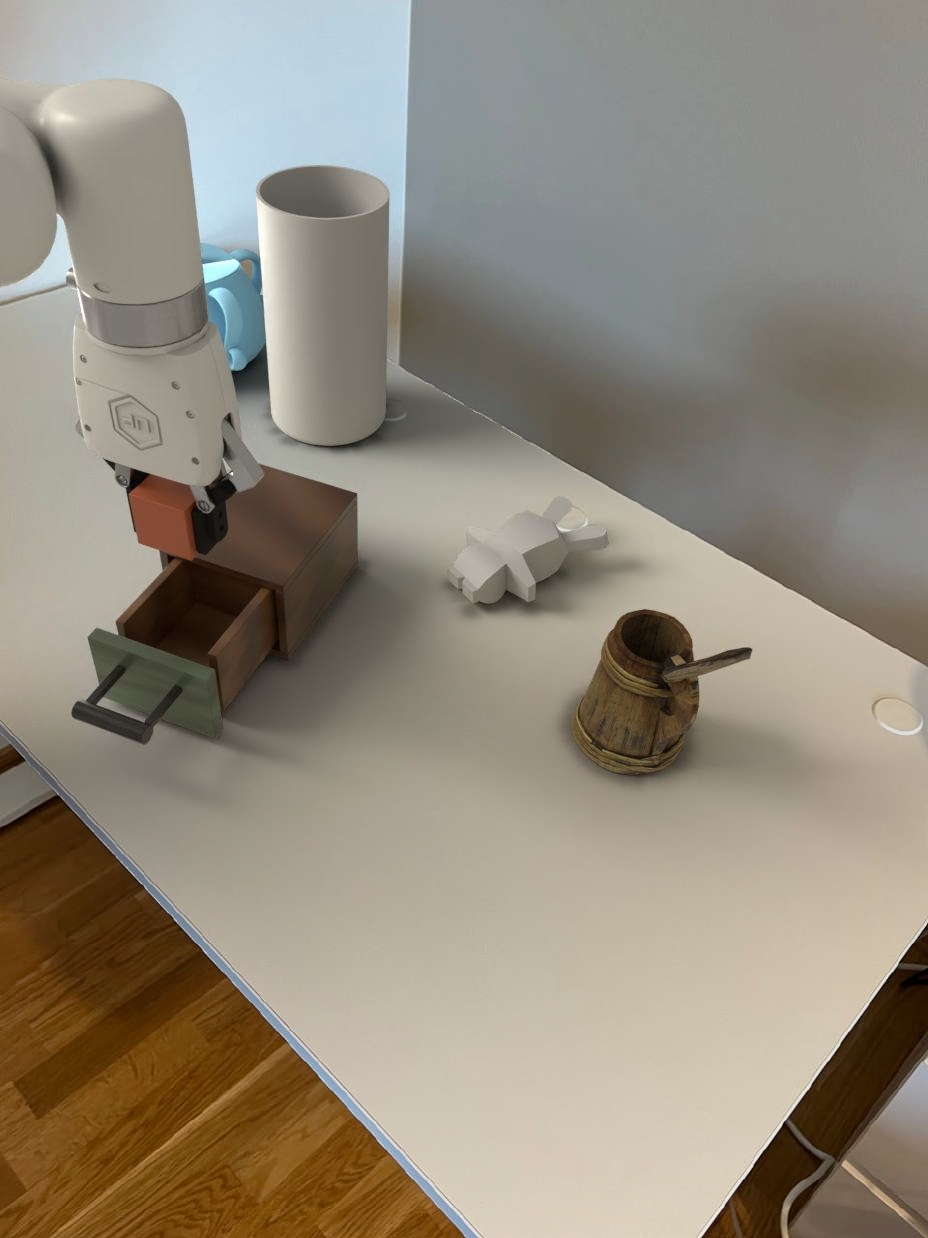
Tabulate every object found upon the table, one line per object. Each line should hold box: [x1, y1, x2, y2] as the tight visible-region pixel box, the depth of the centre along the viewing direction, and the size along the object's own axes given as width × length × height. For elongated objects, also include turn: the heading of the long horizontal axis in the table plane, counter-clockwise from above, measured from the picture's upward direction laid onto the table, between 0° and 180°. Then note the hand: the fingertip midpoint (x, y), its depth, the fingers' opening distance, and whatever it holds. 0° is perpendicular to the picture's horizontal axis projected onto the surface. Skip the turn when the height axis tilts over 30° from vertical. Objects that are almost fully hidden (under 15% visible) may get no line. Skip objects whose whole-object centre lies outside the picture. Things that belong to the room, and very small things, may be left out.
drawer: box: [71, 557, 279, 746], centre depth 84 cm, size 18×10×7 cm, turn 158°
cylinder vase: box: [255, 164, 391, 447], centre depth 109 cm, size 12×12×25 cm
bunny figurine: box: [446, 495, 610, 605], centre depth 100 cm, size 10×5×15 cm
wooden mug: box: [570, 608, 753, 776], centre depth 80 cm, size 9×14×18 cm, turn 20°
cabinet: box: [158, 462, 359, 661], centre depth 94 cm, size 14×12×9 cm
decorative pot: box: [200, 242, 266, 372], centre depth 120 cm, size 16×16×14 cm
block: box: [129, 474, 212, 561], centre depth 77 cm, size 4×4×4 cm
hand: (181, 531), depth 78 cm, fingers closed on block, 4 cm apart
